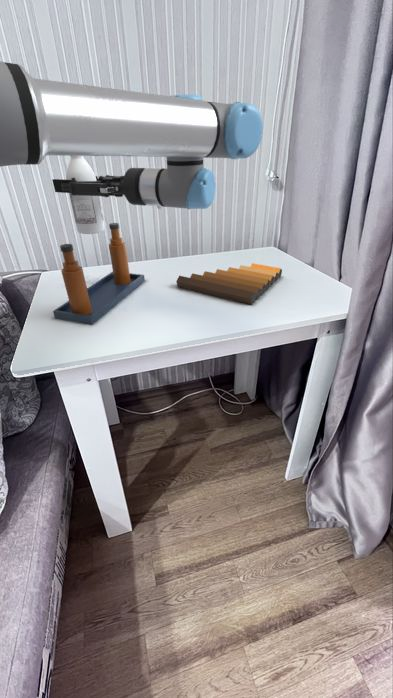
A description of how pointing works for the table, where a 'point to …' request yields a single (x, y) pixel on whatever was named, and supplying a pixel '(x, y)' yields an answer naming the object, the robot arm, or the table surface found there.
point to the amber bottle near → (75, 282)
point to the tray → (100, 299)
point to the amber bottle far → (118, 256)
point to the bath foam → (85, 199)
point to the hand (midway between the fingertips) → (66, 183)
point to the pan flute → (234, 282)
